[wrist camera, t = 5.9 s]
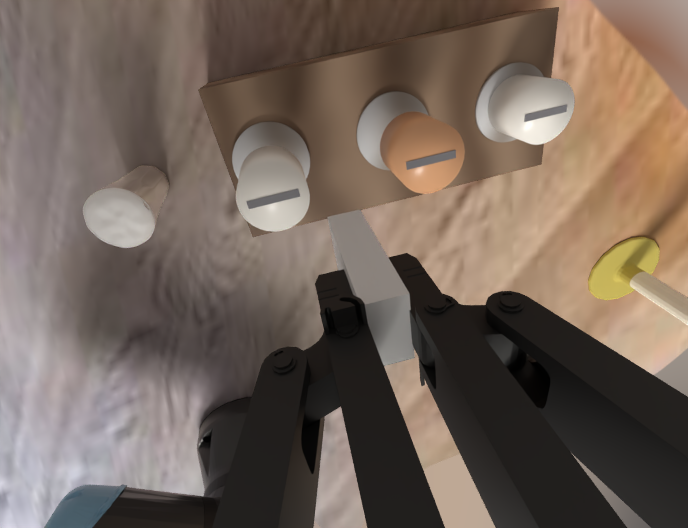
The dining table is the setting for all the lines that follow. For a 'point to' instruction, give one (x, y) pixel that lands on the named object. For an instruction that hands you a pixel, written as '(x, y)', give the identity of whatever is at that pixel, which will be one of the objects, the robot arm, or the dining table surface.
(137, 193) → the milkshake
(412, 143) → the knob middle
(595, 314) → the dining table surface
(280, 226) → the knob
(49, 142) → the dining table surface
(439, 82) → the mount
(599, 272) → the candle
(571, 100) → the knob
